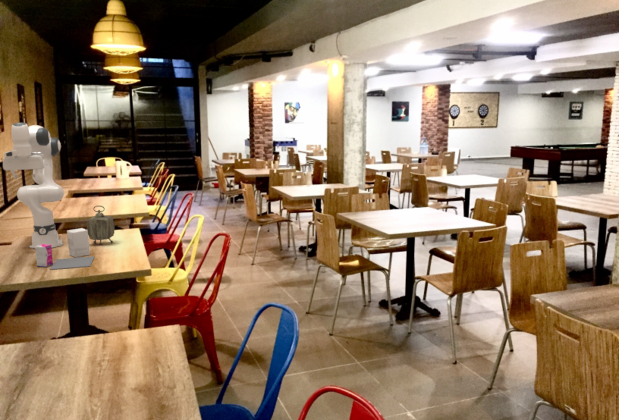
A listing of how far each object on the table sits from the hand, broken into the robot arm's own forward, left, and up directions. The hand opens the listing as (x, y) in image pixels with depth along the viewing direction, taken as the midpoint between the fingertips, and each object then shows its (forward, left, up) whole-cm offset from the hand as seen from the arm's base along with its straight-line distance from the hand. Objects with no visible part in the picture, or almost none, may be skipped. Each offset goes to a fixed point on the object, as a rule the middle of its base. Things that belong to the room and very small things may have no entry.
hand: (25, 177), depth 285 cm
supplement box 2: (-3, +23, -47) cm, 53 cm away
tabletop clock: (-26, +33, -47) cm, 63 cm away
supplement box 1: (+15, +8, -47) cm, 50 cm away
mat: (+15, +22, -47) cm, 54 cm away
